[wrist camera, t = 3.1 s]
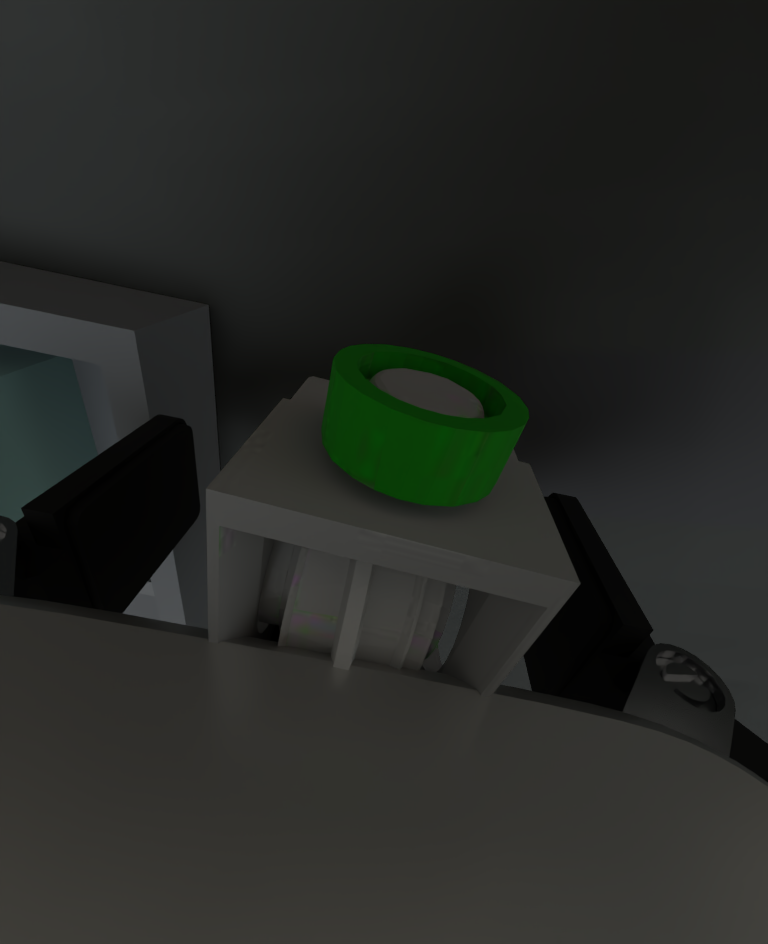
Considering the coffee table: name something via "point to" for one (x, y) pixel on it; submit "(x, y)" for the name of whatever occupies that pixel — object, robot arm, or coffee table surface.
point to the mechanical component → (387, 521)
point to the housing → (104, 401)
